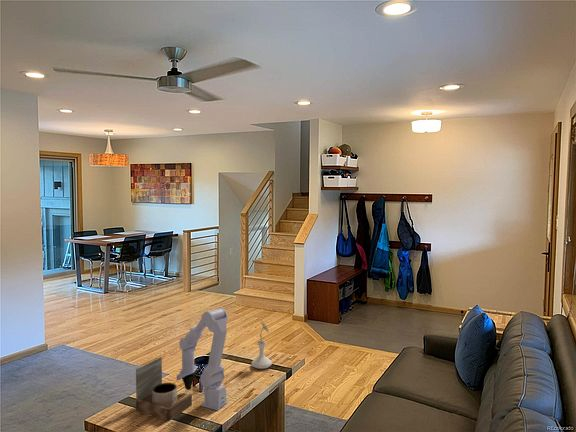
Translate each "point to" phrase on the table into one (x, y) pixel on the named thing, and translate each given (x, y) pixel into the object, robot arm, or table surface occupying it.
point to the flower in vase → (261, 354)
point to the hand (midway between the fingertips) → (188, 389)
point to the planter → (164, 394)
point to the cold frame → (144, 384)
